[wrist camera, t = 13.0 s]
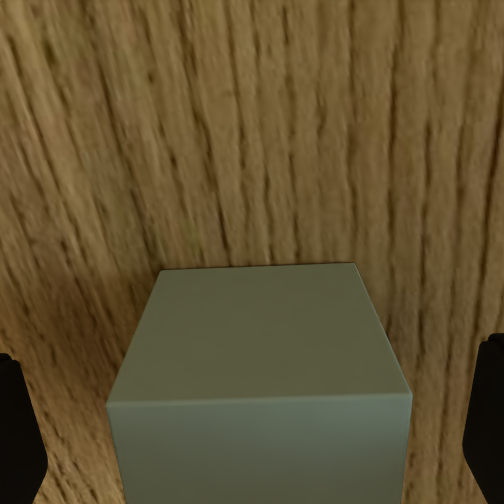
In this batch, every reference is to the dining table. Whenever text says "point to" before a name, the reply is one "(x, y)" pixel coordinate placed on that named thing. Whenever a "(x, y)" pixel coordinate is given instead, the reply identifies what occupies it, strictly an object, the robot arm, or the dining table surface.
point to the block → (260, 391)
